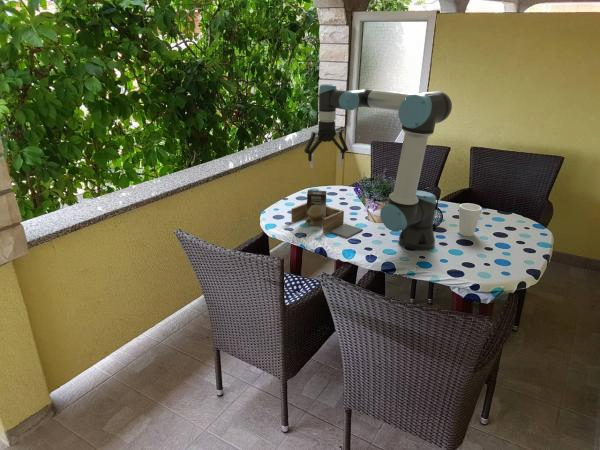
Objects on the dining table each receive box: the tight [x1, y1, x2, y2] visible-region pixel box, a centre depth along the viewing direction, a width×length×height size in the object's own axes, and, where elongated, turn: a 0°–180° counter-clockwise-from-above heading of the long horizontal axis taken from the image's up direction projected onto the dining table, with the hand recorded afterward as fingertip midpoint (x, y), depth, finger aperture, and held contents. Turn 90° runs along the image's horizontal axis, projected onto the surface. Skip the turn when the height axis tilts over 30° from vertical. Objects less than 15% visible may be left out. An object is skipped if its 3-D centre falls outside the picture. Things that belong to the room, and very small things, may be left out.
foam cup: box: [458, 202, 483, 237], centre depth 205 cm, size 10×9×13 cm
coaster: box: [329, 223, 364, 239], centre depth 208 cm, size 10×12×1 cm
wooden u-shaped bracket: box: [290, 202, 345, 234], centre depth 216 cm, size 20×14×7 cm
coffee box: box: [305, 189, 327, 228], centre depth 213 cm, size 9×6×16 cm
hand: (325, 167), depth 210 cm, fingers open, 13 cm apart
